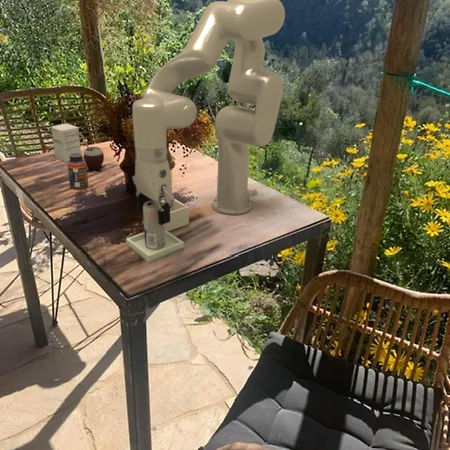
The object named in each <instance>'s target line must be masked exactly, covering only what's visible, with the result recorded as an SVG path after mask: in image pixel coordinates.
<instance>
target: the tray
mask: <svg viewBox="0 0 450 450" xmlns="http://www.w3.org/2000/svg"><path fill="white" fill-rule="evenodd" d="M125 244H126V246H127V247H128V248H129V249H131V250H132V251H133V252H134V253H136V254H137V255H139V257H140V258H142V259H143V260H145V261H146V262H147V263H149V264H150V263H152V262H154V261H157V260H160V259H162V258H165V257H168V256H169V255H172V254H174V253H177V252H179V251H182V250H184V249H185V242H184V241H183V240H181V239H180V238H178V237H176V235H174V234H172V233H171V232H170V231H166V230H165V245H164V246H163V247H162V248H160V249H149V248H147V247H146V246H145V235H144V232H141V233H138V234H134V235H133V236H129V237H127V238H125Z"/></svg>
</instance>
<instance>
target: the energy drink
mask: <svg viewBox="0 0 450 450" xmlns="http://www.w3.org/2000/svg"><path fill="white" fill-rule="evenodd" d="M161 203H162V202H161ZM162 205H163V203H162ZM158 210H160V209H159V207H158V204H157V202H156V201H154V200H152V199H149V201H147V202H145V203H144V206H143V212H142V214H143V215H142V216H143V217H142V218H143V231H144V235H145V246H146V247H147V248H149V249H160V248H162V247H163V246H164V245H165V224H163V225H159V223H158Z"/></svg>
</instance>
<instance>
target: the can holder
mask: <svg viewBox="0 0 450 450" xmlns="http://www.w3.org/2000/svg"><path fill="white" fill-rule="evenodd" d="M161 202H162V203H163V205H164V204H165V201H164V200H163V201H161ZM189 224H190V206H188V205H186V204H185V203H183V202H181V201H180V200H177V199H176V198H175V200H174V202H173V206H172V207H171V209H170V222H168V223H166V224H165V230H166V231H168V232H171V231H173V230H175V229H179V228H181V227H184V226H187V225H189Z"/></svg>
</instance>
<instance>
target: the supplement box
mask: <svg viewBox="0 0 450 450" xmlns="http://www.w3.org/2000/svg"><path fill="white" fill-rule="evenodd" d="M75 131H77V132H79V127H78V126H76V125H73V124H70V123H61V124H58V125H52V126H51V134H52V135H51V136H52V141H53V149H54V155H55V159H58V160H61V161H63V162H65V163H68V161H69V160H70V157H69V155H70V154H73V153H80V154H82V151H81V141H80V135H79V134H78V133H77V132H75ZM79 133H80V132H79Z"/></svg>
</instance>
